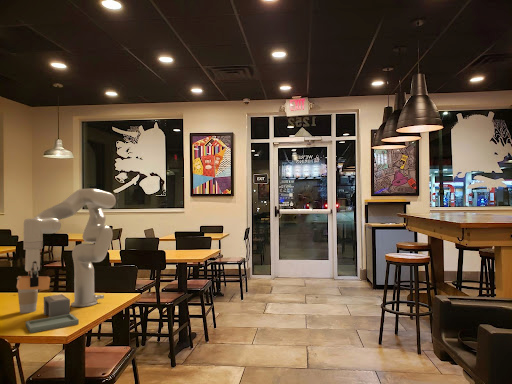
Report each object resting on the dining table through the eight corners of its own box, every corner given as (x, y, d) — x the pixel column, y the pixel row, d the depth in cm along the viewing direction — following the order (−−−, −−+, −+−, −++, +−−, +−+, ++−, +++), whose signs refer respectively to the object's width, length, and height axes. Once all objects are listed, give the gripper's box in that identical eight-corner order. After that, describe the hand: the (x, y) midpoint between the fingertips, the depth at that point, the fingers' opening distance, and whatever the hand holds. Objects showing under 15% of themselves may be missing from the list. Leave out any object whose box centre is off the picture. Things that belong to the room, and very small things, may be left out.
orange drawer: (46, 287, 181) (47, 276, 182) (48, 289, 175) (50, 278, 176) (15, 287, 174) (16, 276, 174) (16, 289, 168) (18, 277, 169)
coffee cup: (41, 310, 192) (41, 280, 193) (21, 314, 185) (21, 283, 186) (34, 308, 198) (34, 278, 199) (14, 311, 191) (14, 281, 192)
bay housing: (69, 317, 179) (69, 298, 179) (50, 320, 174) (50, 301, 174) (61, 310, 191) (61, 293, 192) (43, 313, 186) (43, 296, 187)
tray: (71, 318, 177) (71, 313, 177) (78, 324, 166) (78, 319, 167) (25, 326, 166) (25, 321, 166) (30, 333, 155) (30, 328, 155)
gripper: (21, 245, 181) (21, 284, 180) (25, 247, 167) (25, 289, 166) (39, 244, 185) (39, 281, 184) (45, 246, 171) (45, 287, 170)
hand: (33, 285), depth 175 cm, fingers closed on orange drawer, 7 cm apart
